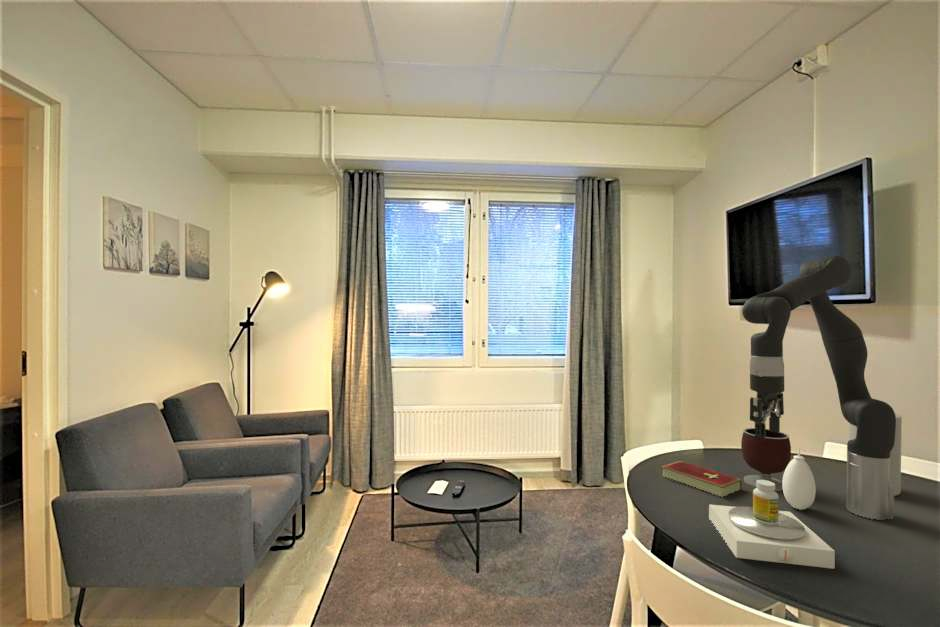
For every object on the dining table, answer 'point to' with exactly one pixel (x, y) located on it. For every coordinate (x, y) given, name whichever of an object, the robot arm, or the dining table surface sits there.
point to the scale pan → (782, 530)
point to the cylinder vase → (894, 455)
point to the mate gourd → (766, 455)
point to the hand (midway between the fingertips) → (767, 434)
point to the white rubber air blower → (799, 483)
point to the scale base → (772, 543)
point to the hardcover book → (702, 478)
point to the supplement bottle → (765, 503)
